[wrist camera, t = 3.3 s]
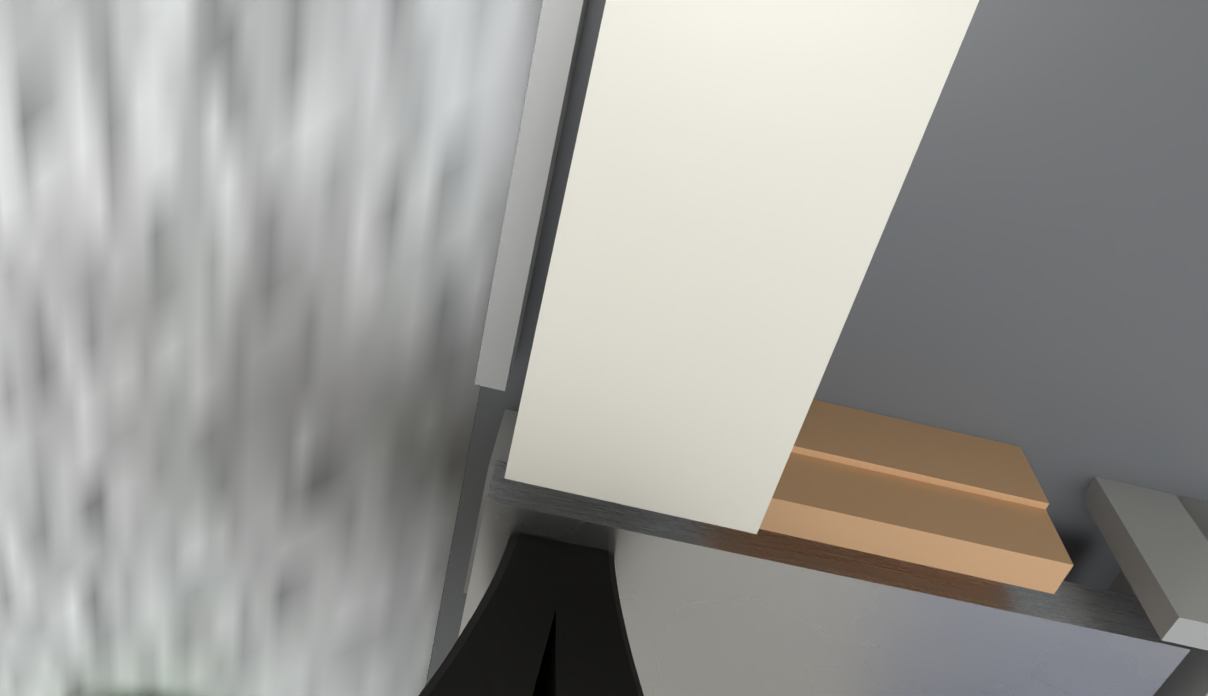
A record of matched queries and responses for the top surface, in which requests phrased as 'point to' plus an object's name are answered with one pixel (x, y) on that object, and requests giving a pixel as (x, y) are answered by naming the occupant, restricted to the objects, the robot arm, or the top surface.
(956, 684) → the grey flat bar
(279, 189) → the top surface
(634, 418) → the latch
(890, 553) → the mount board
